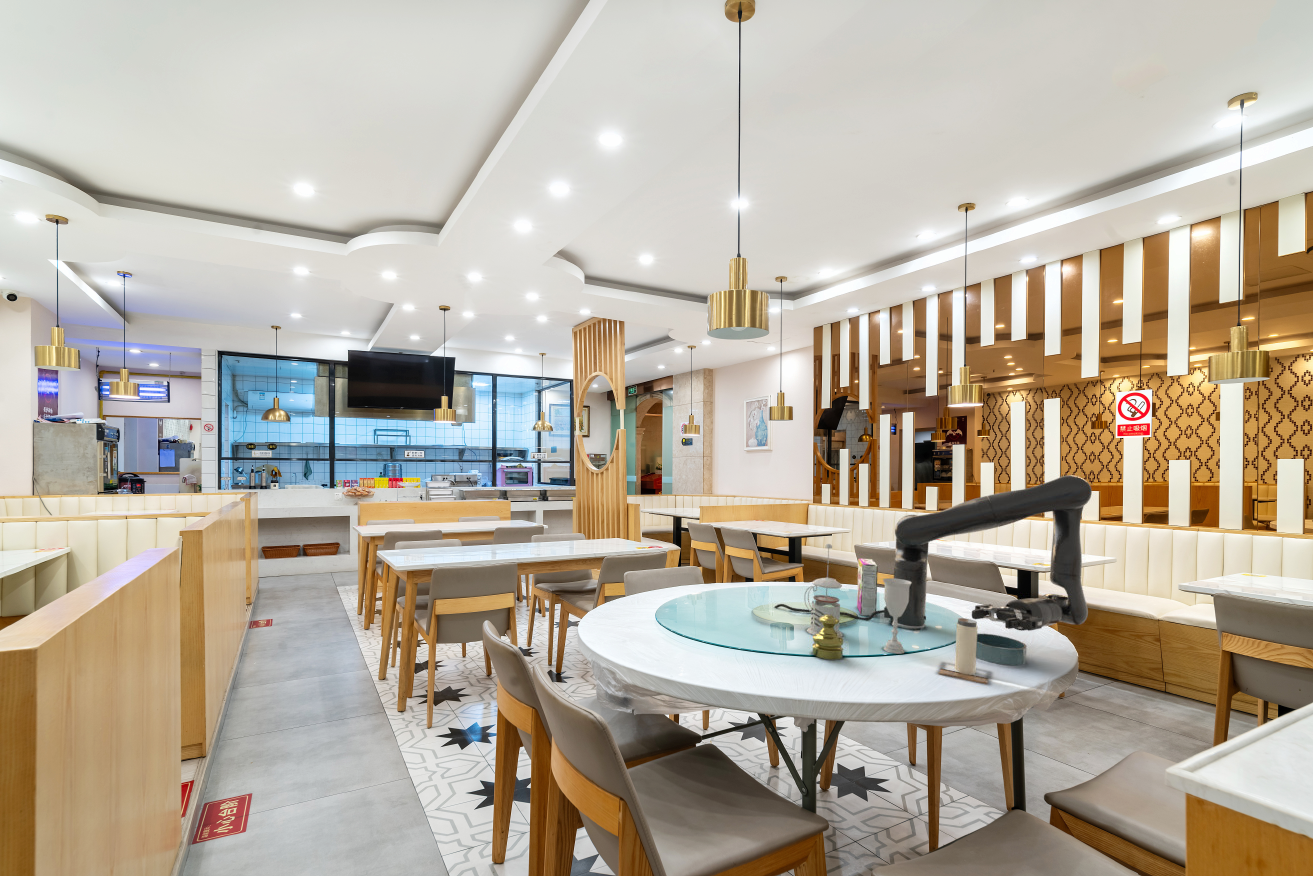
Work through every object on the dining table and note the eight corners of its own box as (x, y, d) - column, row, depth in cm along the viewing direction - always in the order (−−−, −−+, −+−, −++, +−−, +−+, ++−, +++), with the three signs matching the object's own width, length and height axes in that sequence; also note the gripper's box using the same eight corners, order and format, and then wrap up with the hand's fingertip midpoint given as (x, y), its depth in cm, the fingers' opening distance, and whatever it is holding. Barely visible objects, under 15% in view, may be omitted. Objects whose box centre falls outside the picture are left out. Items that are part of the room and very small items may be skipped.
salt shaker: (848, 656, 154) (849, 616, 154) (834, 662, 148) (836, 621, 148) (821, 648, 159) (822, 609, 159) (806, 654, 153) (808, 614, 153)
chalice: (894, 656, 156) (897, 584, 156) (873, 647, 162) (876, 579, 162) (914, 653, 159) (917, 583, 160) (893, 645, 165) (896, 577, 166)
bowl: (965, 659, 156) (966, 641, 156) (969, 647, 167) (970, 630, 167) (1025, 671, 149) (1026, 652, 149) (1025, 657, 160) (1026, 640, 161)
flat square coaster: (938, 674, 144) (938, 672, 144) (943, 662, 153) (943, 661, 153) (987, 684, 139) (987, 682, 139) (989, 672, 148) (989, 670, 148)
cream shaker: (953, 672, 145) (956, 620, 145) (955, 666, 149) (957, 616, 149) (974, 676, 143) (977, 624, 143) (976, 670, 147) (978, 620, 147)
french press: (829, 640, 167) (834, 547, 167) (794, 629, 175) (798, 541, 176) (849, 634, 173) (853, 545, 174) (814, 624, 182) (818, 539, 182)
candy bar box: (855, 607, 206) (857, 558, 206) (871, 608, 205) (873, 559, 205) (859, 615, 195) (862, 563, 195) (876, 617, 194) (878, 565, 194)
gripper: (1001, 592, 165) (963, 597, 157) (1058, 606, 152) (1019, 611, 144) (1000, 621, 165) (962, 626, 157) (1056, 636, 152) (1018, 643, 144)
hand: (989, 619), depth 151 cm, fingers open, 8 cm apart
